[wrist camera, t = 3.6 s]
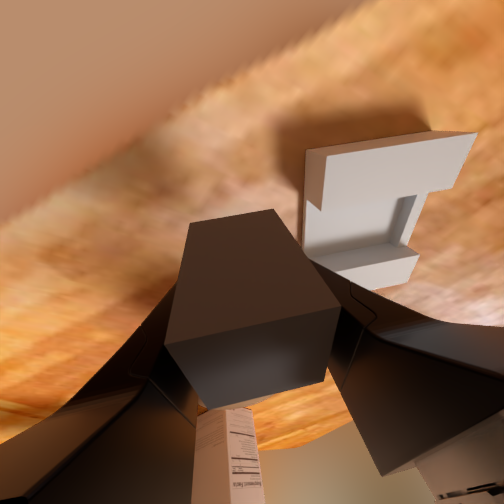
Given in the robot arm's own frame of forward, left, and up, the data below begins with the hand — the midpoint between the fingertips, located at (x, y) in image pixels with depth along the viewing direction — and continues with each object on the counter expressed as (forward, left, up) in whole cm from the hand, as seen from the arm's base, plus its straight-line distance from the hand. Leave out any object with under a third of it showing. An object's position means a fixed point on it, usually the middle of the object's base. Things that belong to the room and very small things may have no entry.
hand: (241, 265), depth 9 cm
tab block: (0, 0, -1) cm, 1 cm away
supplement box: (-42, +9, -8) cm, 44 cm away
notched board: (-3, -11, -8) cm, 14 cm away
